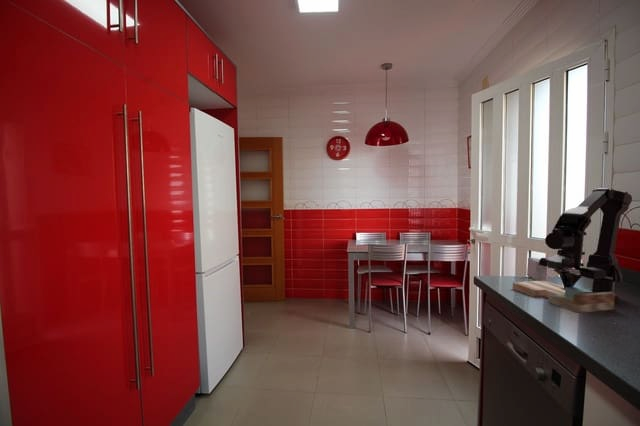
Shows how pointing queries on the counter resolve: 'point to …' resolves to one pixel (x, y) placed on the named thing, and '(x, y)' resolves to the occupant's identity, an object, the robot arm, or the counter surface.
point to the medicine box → (536, 270)
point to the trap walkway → (558, 297)
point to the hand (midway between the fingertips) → (567, 291)
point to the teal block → (575, 291)
